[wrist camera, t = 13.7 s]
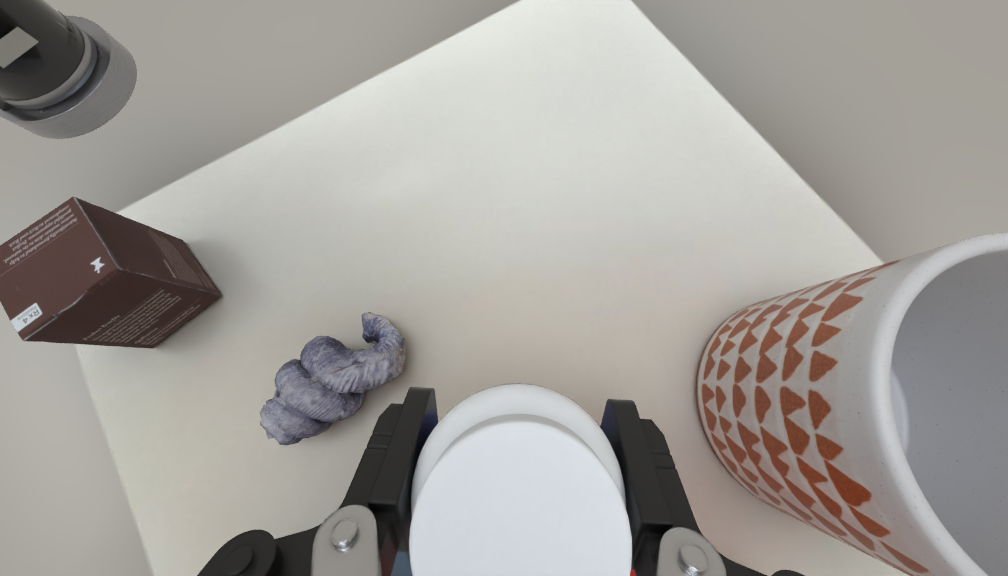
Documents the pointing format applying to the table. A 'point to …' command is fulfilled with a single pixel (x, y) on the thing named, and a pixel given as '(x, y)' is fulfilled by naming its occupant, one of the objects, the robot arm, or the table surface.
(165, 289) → the box
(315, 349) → the seashell
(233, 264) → the table surface
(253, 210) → the table surface
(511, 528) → the pill bottle
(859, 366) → the planter
